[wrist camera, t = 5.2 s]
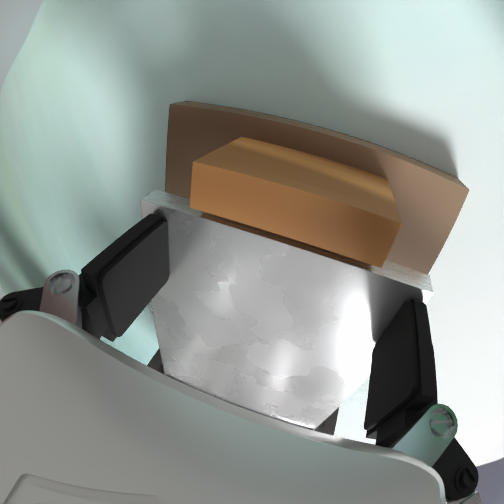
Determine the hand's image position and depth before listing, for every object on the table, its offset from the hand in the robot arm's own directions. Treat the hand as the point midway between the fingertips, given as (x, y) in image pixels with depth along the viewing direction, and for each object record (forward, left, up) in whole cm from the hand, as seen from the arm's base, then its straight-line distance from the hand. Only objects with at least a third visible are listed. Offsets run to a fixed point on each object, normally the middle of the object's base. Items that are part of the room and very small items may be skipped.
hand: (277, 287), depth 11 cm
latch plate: (-5, 0, -5) cm, 7 cm away
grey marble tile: (-5, 0, -1) cm, 6 cm away
